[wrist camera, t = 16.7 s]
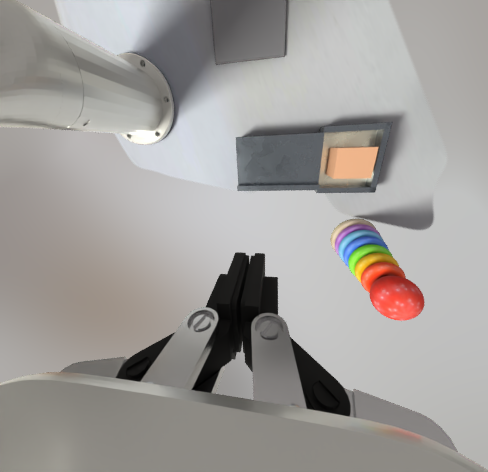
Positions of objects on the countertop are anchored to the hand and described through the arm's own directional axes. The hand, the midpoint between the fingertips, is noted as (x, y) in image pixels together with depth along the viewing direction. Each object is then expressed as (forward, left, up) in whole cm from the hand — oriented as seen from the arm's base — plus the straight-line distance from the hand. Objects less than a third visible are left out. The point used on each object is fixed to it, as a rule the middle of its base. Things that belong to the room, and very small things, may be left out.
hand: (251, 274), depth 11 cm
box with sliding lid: (+6, +4, -27) cm, 28 cm away
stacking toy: (+16, -10, -27) cm, 33 cm away
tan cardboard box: (+10, +4, -24) cm, 26 cm away
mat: (-3, +22, -27) cm, 35 cm away
